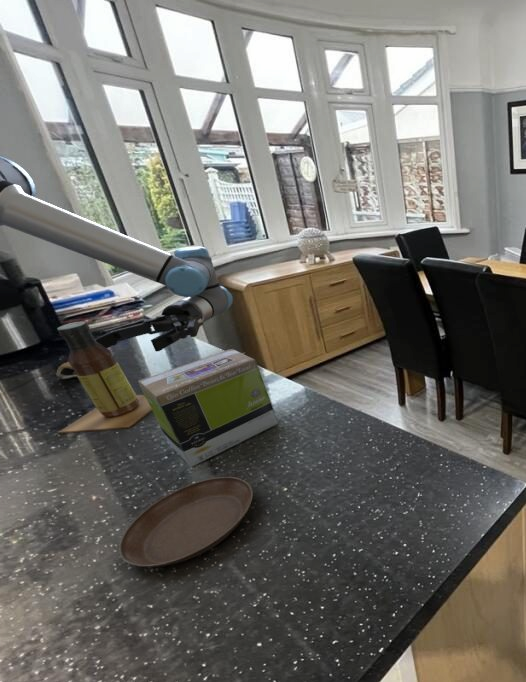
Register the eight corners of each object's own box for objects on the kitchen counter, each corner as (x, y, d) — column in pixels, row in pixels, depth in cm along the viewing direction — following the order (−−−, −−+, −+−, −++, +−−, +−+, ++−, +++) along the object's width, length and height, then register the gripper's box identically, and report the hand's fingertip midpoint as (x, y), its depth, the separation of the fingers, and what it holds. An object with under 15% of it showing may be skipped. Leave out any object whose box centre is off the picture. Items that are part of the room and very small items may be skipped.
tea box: (256, 409, 83) (233, 346, 77) (279, 425, 78) (257, 358, 72) (169, 448, 72) (135, 378, 66) (189, 470, 66) (154, 395, 60)
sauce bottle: (139, 399, 88) (98, 315, 79) (141, 410, 83) (98, 323, 75) (99, 411, 83) (51, 324, 75) (99, 423, 79) (49, 333, 71)
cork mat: (59, 433, 77) (58, 432, 77) (113, 398, 89) (113, 396, 89) (129, 428, 78) (128, 426, 78) (174, 394, 90) (173, 392, 90)
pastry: (87, 363, 106) (81, 350, 105) (115, 361, 107) (109, 349, 105) (55, 380, 98) (47, 367, 96) (85, 378, 99) (78, 364, 97)
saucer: (239, 560, 51) (232, 545, 50) (99, 594, 47) (89, 579, 46) (269, 480, 64) (264, 467, 63) (161, 502, 60) (154, 489, 59)
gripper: (240, 324, 106) (188, 359, 87) (143, 330, 105) (68, 366, 85) (231, 298, 103) (175, 328, 84) (131, 303, 102) (50, 335, 82)
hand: (121, 347), depth 85 cm, fingers open, 13 cm apart
